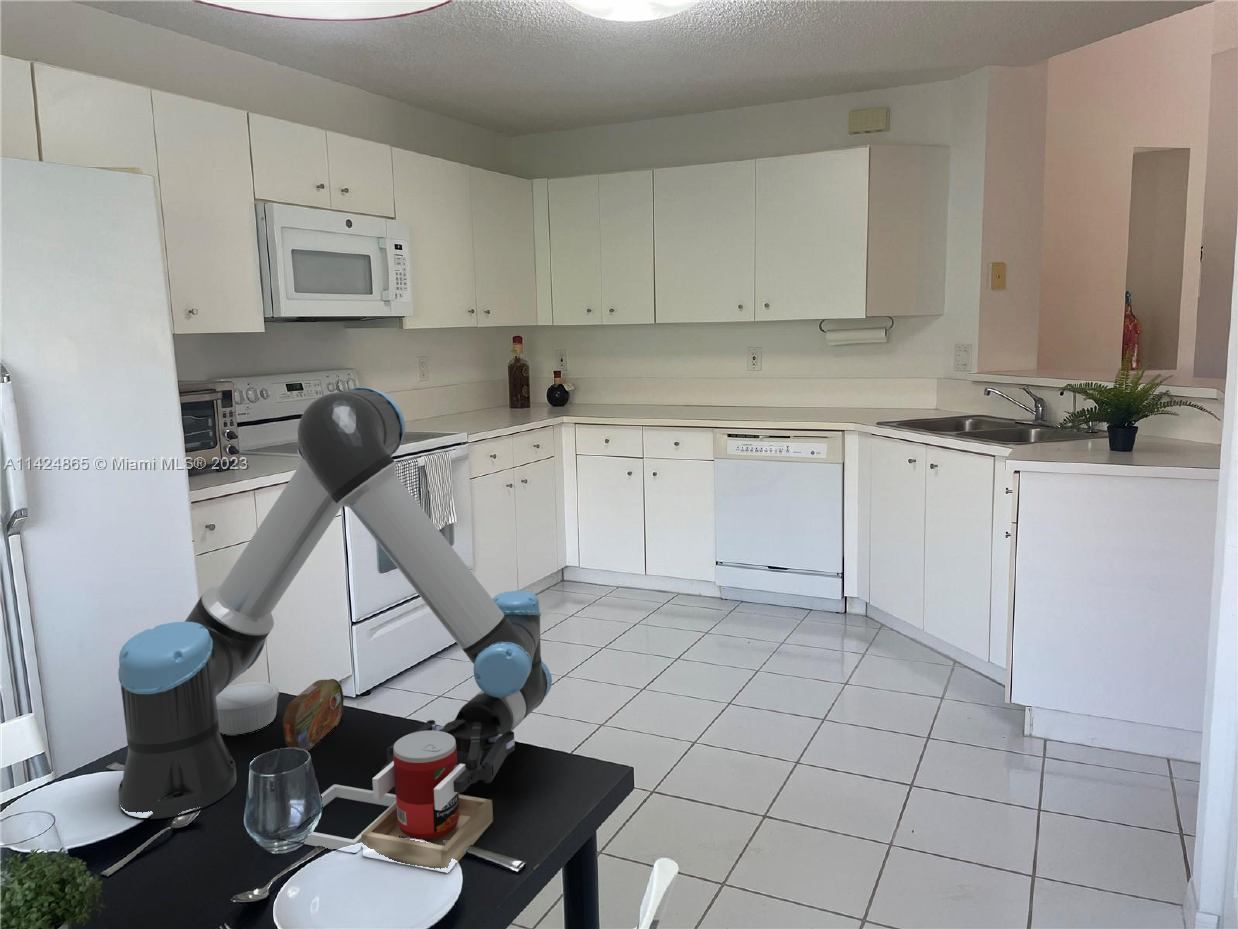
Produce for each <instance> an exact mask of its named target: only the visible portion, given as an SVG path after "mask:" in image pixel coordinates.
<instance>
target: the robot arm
mask: <svg viewBox="0 0 1238 929" xmlns="http://www.w3.org/2000/svg"><path fill="white" fill-rule="evenodd" d="M405 432H406V422H405V418H404V415H403V412H402V410H401V408H400V407H399V405H398V404H397V402H396V401H395V400H394V399H393V398H392V397H391V396H389V395H388V394H386V393H385V392H383V391H381V390H378V389H375V388H370V387H363V386H362V387H361V386H358V387H351V388H349V389H346V390H343V391H338V392H333V393H328V394H325V395H322V396H321V397H318V398H317V399H315V400H314V401H312V402H311V403H310V404H309V405H308V407H307V408H306V409H305V410H304V412H303V413H302V416H301V417H300V420H299V422H298V427H297V442H298V448H297V451H296V452H297V456H298V459H299V463H300V464H299V465H298V467H297V469H296V470H295V471H294V473H293V475H292V476H291V478H290V479H289V481H288V482H287V484H286V485H285V487H284V488H283V490H282V491H281V493H280V495H279V496H278V498H277V499H276V500H275V502H274V504H273V505H272V507H271V508H270V510H269V511H268V513H267V514H266V516H265V518H264V519H263V521H261V524H259V527H258V528H257V530H256V531H255V533H254V534H253V536H252V537H251V539H250V540H249V541H248V543H247V545H246V546H245V548H244V549H243V551H242V553H241V554H240V555H239V556H238V559H237V560H236V562H235V563H234V564H233V566H232V568H231V569H230V570H229V573H228V574H227V575H226V577H225V578H224V580H223V581H222V583H221V585H218V586H217V585H216V586H211V587H209V588H207V589H205V590H204V592H203V593H202V595H201V596H200V598H198V601H196V603H195V605H194V607H193V608H192V610H191V612H190V613H189V614H188V616H187V617H186V619H185V620H183V621H175V622H167V623H163V624H160V625H159V624H158V625H155V626H154V628H147V629H144V630H143V631H141V632H138V633H137V634H135V635H133V636H132V637H131V638H129V639H128V640H127V641H126V642H125V643H124V644H123V646H122V647H121V650H120V651H119V655H118V663H119V664H118V665H119V668H118V674H117V675H118V681H119V684H120V690H121V699H122V706H123V707H122V708H123V716H124V725H125V733H126V742H127V753H126V759H125V764H124V768H123V775H122V779H121V781H119V782H120V783H119V785H118V792H117V793H118V794H117V796H118V803H120V805H121V807H122V808H123V809H125V811H128V812H136V813H137V812H142V813H143V812H148V811H149V812H150V811H152V812H153V815H152V816H151V818H150V819H149V820H157V819H158V820H159V819H166V818H168V819H169V818H174V817H178V816H177V815H178V814H179V813H181V812H182V811H186V810H189V809H193V808H197V807H198V808H199V807H201V809H203V808H206V807H208V806H210V805H213V804H214V803H216V802H217V801H219V800H222V798H224V797H225V796H227V795H228V794H229V793H230V792H231V791H232V790H233V788H234V787H235V786H236V783H237V780H238V779H237V777H238V776H237V768H236V762H235V760H234V758H233V757H232V755H231V753H230V751H229V749H228V746H227V743H226V742H225V740H224V738H223V736H222V734H221V733H220V731H219V725H218V713H217V702H216V696H217V695H218V694H219V693H220V692H221V691H222V690H223V689H224V688H226V687H229V686H230V684H231V683H232V682H234V681H235V680H236V679H237V678H238V677H239V676H240V675H242V674H243V673H245V672H247V670H248V669H250V668H251V667H252V666H253V665H254V664H255V662H256V661H258V658H259V657H260V655H261V654H262V652H263V650H264V648H265V645H266V641H267V640H266V639H267V638H268V636H269V634H270V633H271V631H272V630H273V628H274V624H275V622H274V616H273V614H272V612H273V610H274V609H275V608H276V606H277V605H278V603H279V601H280V600H281V598H282V597H283V596H284V594H285V592H286V591H287V590H288V588H289V587H290V585H291V584H292V583H293V581H294V579H295V578H296V576H297V575H298V573H299V572H300V570H301V569H302V567H303V566H304V564H305V563H306V561H307V559H308V558H309V556H310V555H311V554H312V552H313V551H314V549H315V548H316V547H317V545H318V543H319V541H320V540H321V538H322V537H323V535H324V534H325V533H326V531H327V529H328V528H329V527H330V525H331V524H332V522H333V521H334V519H335V518H336V516H337V515H338V513H339V512H340V510H342V507H345V508H346V507H347V508H349V509H350V510H351V511H352V512H353V514H354V515H355V517H357V519H358V520H359V521H360V522H361V524H362V525H363V526H364V528H366V530H367V531H368V533H369V534H370V535H371V536H372V537H373V539H374V540H375V541H376V543H377V544H378V545H379V546H380V548H381V549H382V550H383V551H384V553H385V554H386V555H387V556H388V558H389V559H390V560H391V562H392V563H393V564H394V566H395V567H397V569H398V570H399V572H400V573H401V574H402V575H403V577H404V578H405V579H406V580H407V582H409V584H410V585H411V587H412V588H413V590H414V591H416V593H417V595H418V596H419V597H420V598H421V600H422V601H424V603H425V605H427V607H428V609H430V611H431V612H432V613H433V615H434V616H435V617H436V618H437V619H438V621H439V622H440V623H441V625H443V627H444V628H445V630H446V631H447V632H448V633H449V635H450V636H451V637H452V638H453V639H454V641H455V642H456V644H458V646H459V647H460V649H462V651H463V652H464V653H465V655H466V656H467V658H469V660H470V661H471V663H472V664H473V668H472V669H473V677H474V680H475V683H476V685H477V687H478V688H479V689H480V690H481V691H479V692H477V694H475V695H474V697H472V698H471V699H470V700H469V701H467V702H466V703H465V704H464V705H463V706H461V708H460V709H459V711H458V713H457V714H456V717H455V718H454V720H451V721H449V722H447V723H446V724H444V725H437V724H436V720H434V719H429V720H427V721H426V722H425V723H424V724H423V725H422V727H419V728H418V729H416V730H415V731H413V732H412V733H415V732H420V731H442V732H446V733H448V734H450V735H452V736H453V737H454V738H455V741H456V750H457V752H463V753H467V754H468V755H467V756H468V757H466V764H465V763H459V764H457V767H456V768H455V769H454V770H453V771H452V772H451V773H450V774H449V775H448V776H447V777H446V778H445V779H444V780H442V781H441V782H440V783H439V784H438V785H437V786H436V787H435V788H434V801H435V810H441V809H442V808H443V807H444V806H445V805H446V804H447V803H448V802H449V801H450V800H451V799H452V798H453V797H454V796H455V795H456V794H457V793H459V794H462V793H464V792H465V791H466V790H467V789H468V788H469V787H470V786H471V785H472V784H476V783H477V782H478V781H481V780H482V782H483V784H490V783H491V782H493V780H494V778H495V777H496V774H498V771H499V769H500V768H501V766H502V765H503V763H504V761H505V759H506V758H507V756H508V755H510V754H511V753H512V752H514V751H515V749H516V748H515V747H516V746H515V742H516V741H515V732H514V730H515V729H516V728H517V726H519V725H520V724H521V723H522V721H524V719H526V717H528V716H529V715H530V714H531V713H532V712H533V711H534V710H535V709H537V708H538V707H539V706H541V704H542V703H543V701H544V699H545V698H546V697H547V695H549V693H550V691H551V687H552V682H553V679H552V678H553V677H552V674H551V672H550V669H549V668H548V665H546V663H545V662H544V661H543V660H542V655H541V652H542V650H541V649H542V648H541V646H542V645H541V616H542V615H541V614H542V613H541V612H540V602H539V601H540V600H539V597H538V596H537V595H536V594H535V593H533V592H530V591H525V590H509V591H503V592H499V593H497V594H496V595H494V596H493V597H492V596H491V595H490V593H488V592H487V590H486V589H485V587H484V586H483V585H482V584H481V583H480V581H479V580H478V579H477V577H476V576H475V575H474V574H473V572H472V571H471V569H470V568H469V567H468V566H467V564H465V562H464V560H463V559H462V557H460V556H459V554H458V553H457V552H456V550H455V549H454V548H453V546H452V544H450V542H449V541H448V540H447V539H446V537H445V536H444V535H443V533H442V532H441V531H440V530H439V529H438V527H437V525H436V524H435V523H434V522H433V521H432V519H431V518H430V516H428V514H427V513H426V512H425V511H424V509H423V508H422V507H421V505H420V504H419V503H418V502H417V500H416V499H415V498H414V496H413V495H412V493H411V492H410V491H409V489H408V488H407V487H406V486H405V484H404V483H403V482H402V481H401V479H400V478H399V477H398V475H396V469H397V462H396V461H395V460H394V458H393V457H392V456H393V455H394V454H395V453H397V451H398V450H399V449H400V447H401V444H402V442H403V440H404V438H405ZM394 744H395V743H393V744H392V745H390V746H389V747H387V748H386V757H387V763H386V764H384V765H383V766H382V768H381V770H380V771H379V773H377V774H376V775H375V776H374V777H372V791H373V796H374V799H378V800H379V799H380V798H381V797H383V796H384V795H385V794H386V793H388V792H390V791H391V789H392V790H393V788H394V787H395V774H394V756H393V750H394ZM483 752H488V753H487V754H486V757H484V759H483V761H482V763H481V760H482V757H483ZM120 805H119V806H120Z"/></svg>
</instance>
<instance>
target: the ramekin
mask: <svg viewBox="0 0 1238 929" xmlns="http://www.w3.org/2000/svg"><path fill="white" fill-rule="evenodd" d="M279 695H280V692H279V688H278V686H277V685H276V684H273V683H271V682H267V681H266V682H265V681H252V682H251V681H250V682H241V683H238V684H234V685H228V686H227V687H226V688H224V689H223V690H222V691H221V692H220V693H219V694H218V695H217V696H216V702H217V713H218V725H219V731H220V734H221V733H222V734H221V735H224V734H226V735H225V736H238V735H237V734H243V733H247V732H252V731H255V730H257V729H261V728H263V727H265V726H267V725H268V724H270V723H271V722H273V721H274V720H275V718H276V715H277V708H278V697H279ZM271 724H272V723H271ZM271 724H270V725H271ZM268 726H269V725H268ZM268 726H267V727H268ZM265 728H266V727H265ZM263 729H264V728H263ZM261 730H262V729H261ZM252 733H253V732H252ZM243 735H244V734H243Z"/></svg>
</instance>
